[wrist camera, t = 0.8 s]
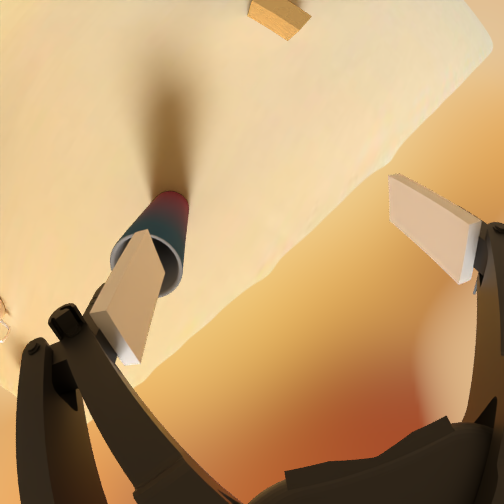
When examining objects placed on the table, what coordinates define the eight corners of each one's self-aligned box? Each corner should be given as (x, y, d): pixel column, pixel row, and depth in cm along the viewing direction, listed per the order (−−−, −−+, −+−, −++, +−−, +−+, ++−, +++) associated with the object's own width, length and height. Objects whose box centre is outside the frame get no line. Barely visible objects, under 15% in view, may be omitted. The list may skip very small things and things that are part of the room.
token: (247, 15, 27) (252, 0, 21) (258, 3, 26) (265, -13, 20) (287, 41, 29) (299, 30, 23) (298, 28, 28) (311, 16, 22)
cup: (169, 173, 36) (139, 217, 22) (206, 208, 38) (198, 268, 25) (136, 209, 37) (96, 266, 24) (172, 241, 40) (151, 310, 27)
